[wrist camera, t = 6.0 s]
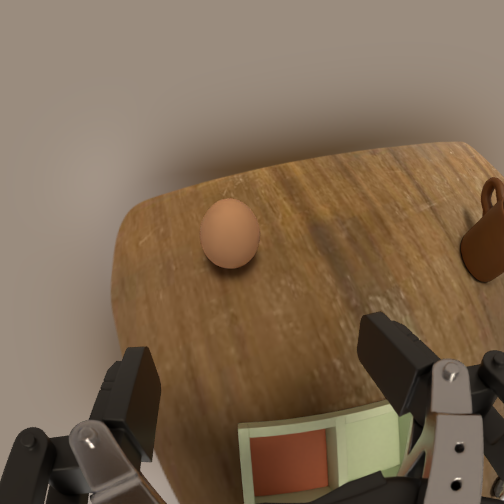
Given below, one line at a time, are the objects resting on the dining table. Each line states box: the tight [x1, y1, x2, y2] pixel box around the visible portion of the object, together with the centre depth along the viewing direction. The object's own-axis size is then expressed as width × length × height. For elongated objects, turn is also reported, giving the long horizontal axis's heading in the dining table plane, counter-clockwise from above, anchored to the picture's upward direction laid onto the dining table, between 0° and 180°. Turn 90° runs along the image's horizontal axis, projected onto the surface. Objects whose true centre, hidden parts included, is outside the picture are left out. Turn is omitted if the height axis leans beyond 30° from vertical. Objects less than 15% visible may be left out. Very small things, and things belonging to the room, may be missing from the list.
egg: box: [200, 198, 260, 269], centre depth 24 cm, size 5×5×8 cm
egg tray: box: [238, 399, 412, 504], centre depth 16 cm, size 15×15×4 cm
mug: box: [461, 177, 504, 282], centre depth 26 cm, size 12×8×9 cm, turn 173°
